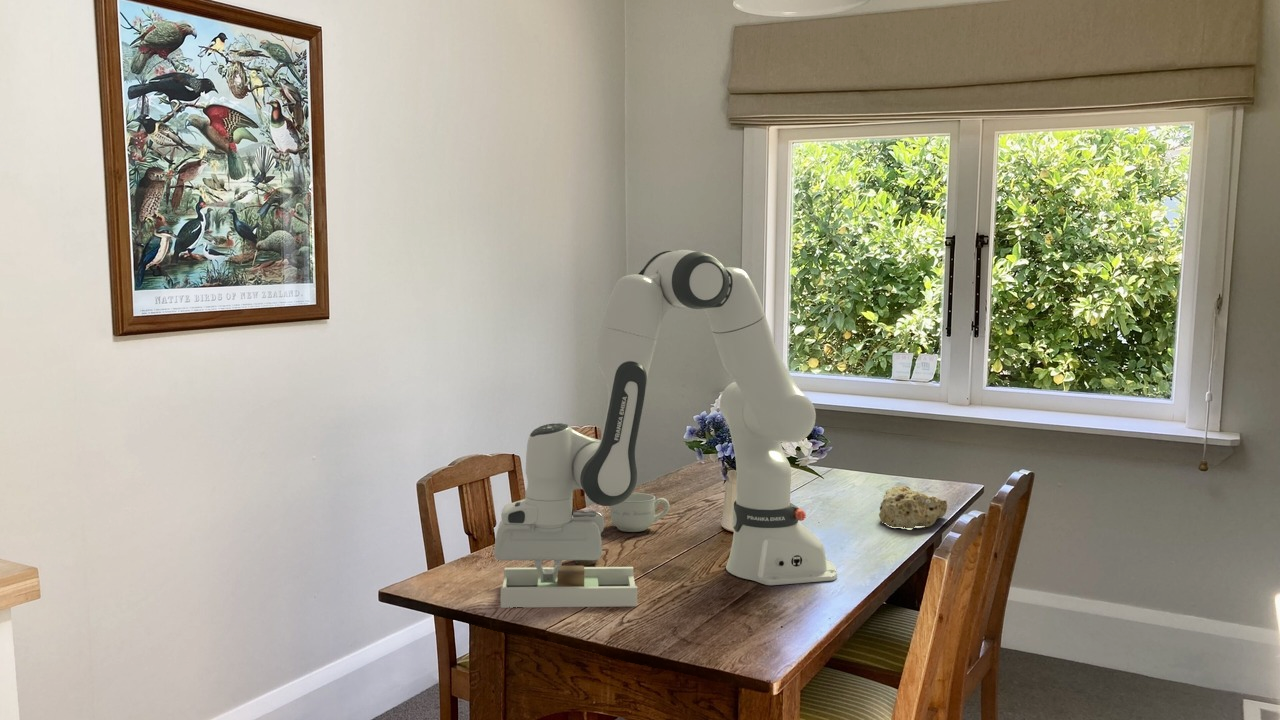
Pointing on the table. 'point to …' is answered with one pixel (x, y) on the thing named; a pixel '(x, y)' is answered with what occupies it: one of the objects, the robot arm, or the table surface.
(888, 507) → the rock
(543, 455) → the robot arm
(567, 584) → the walnut block
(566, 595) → the box
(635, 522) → the teacup
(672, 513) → the table surface
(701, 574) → the table surface
